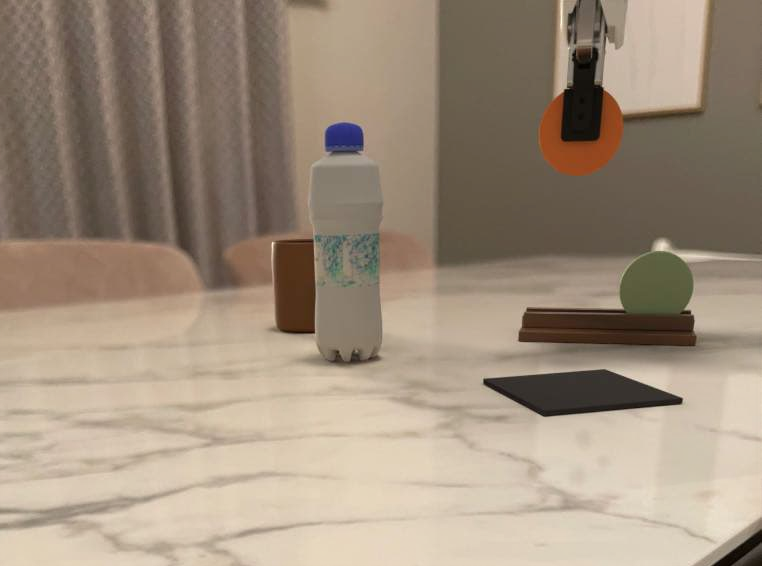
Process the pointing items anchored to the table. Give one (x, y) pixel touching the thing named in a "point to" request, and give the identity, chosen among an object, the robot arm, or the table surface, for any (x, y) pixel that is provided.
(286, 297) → the mug
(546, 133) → the orange disc
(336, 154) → the bottle
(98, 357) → the table surface
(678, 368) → the table surface
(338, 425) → the table surface
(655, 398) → the mat
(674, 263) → the green disc
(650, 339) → the disc rack
